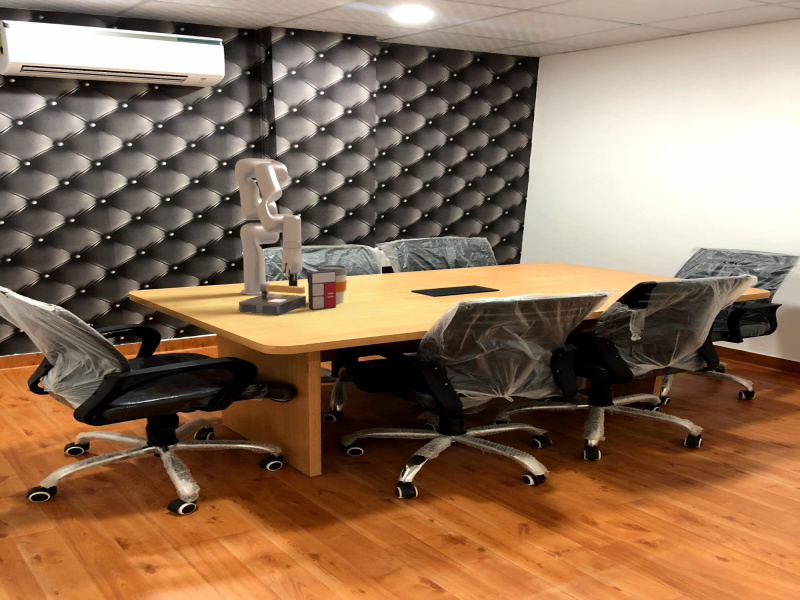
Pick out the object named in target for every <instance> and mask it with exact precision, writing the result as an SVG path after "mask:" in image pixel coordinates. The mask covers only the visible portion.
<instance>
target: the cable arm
mask: <svg viewBox="0 0 800 600" xmlns="http://www.w3.org/2000/svg"><path fill="white" fill-rule="evenodd" d="M260 291H268V292H269V293H271V292H272V293H284V294H285V293H286V294H301V295H302V294H305V293H306V291H305V286H298V287H296V286H289V285H279V284H278V285H277V284H270V285H269V284H267V283H263V284H260Z"/></svg>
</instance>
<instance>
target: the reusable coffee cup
mask: <svg viewBox="0 0 800 600" xmlns="http://www.w3.org/2000/svg"><path fill="white" fill-rule="evenodd" d="M326 270H332V271H335V272H336V305H339V304H340V305H341V304H343V303H344V300H345V292H346V290H347V283H348V281H347V275H348V267H347V266H345V265H340V264H339V265H334V264H333V265H332V264H331V265H321V266H318V267H317V271H326Z"/></svg>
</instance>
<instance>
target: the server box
mask: <svg viewBox="0 0 800 600" xmlns="http://www.w3.org/2000/svg"><path fill="white" fill-rule="evenodd" d="M276 294H277V293H270V292H269V293H268V292H267V291H262V294H261V295H256V296H255V297H252V298H248V299H244V300H241V301H238V312H239V311H240V312H239V313H246V312H251V313H250V314H259V313H263V314H262V315H272V314H274V315H276V316H280V315H285V314H287V313H289V312H292V311H296V310H297V309H301V308H304V307H307V296H306V295H297V294H286V295H287V296H285V297H282V298H274V297H269V296H272V295H276ZM280 294H281V293H280ZM281 295H285V293H284V294H281ZM273 299H285V300H286V301H283V302H280V303H275V302H268V301H270V300H273Z"/></svg>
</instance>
